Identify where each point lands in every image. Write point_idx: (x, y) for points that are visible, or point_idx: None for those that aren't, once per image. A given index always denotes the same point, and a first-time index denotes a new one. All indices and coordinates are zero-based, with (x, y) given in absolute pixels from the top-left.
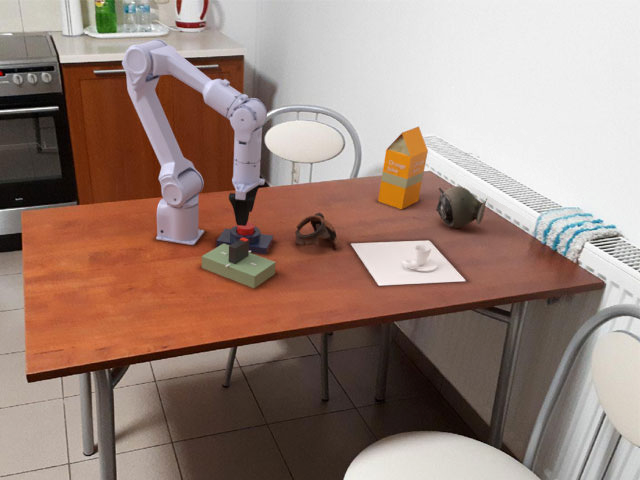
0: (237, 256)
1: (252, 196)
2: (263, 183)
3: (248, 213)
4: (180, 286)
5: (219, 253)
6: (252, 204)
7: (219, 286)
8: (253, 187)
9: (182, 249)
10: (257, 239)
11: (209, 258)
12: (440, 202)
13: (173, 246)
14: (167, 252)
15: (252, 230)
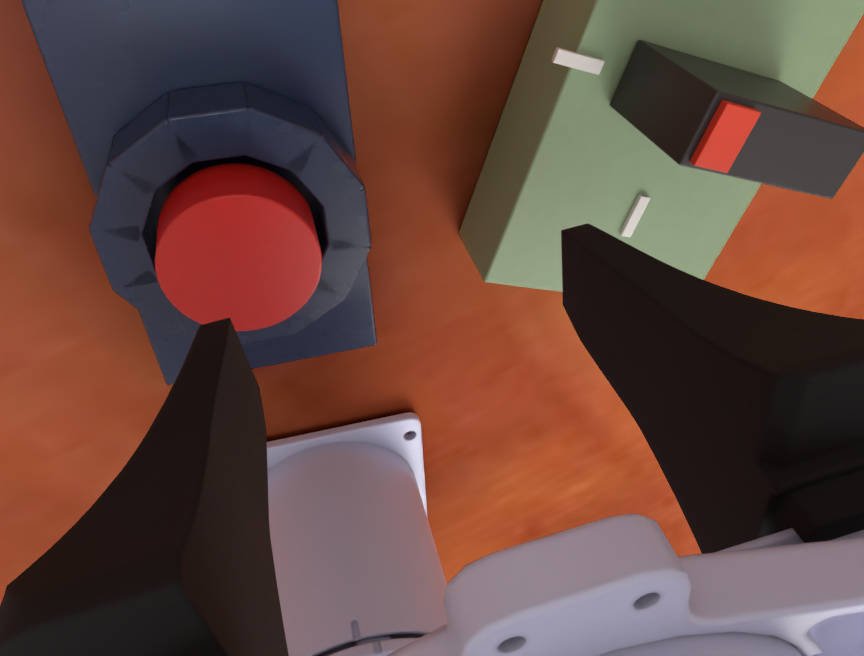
0: (796, 95)
1: (224, 457)
2: (648, 537)
3: (700, 281)
4: (834, 259)
5: (636, 240)
6: (225, 373)
7: (837, 86)
8: (828, 553)
9: (470, 426)
10: (262, 96)
11: (713, 260)
12: None
13: (455, 468)
14: (523, 455)
15: (259, 184)
